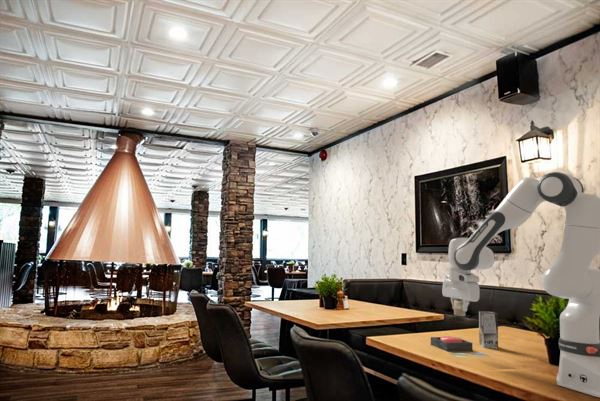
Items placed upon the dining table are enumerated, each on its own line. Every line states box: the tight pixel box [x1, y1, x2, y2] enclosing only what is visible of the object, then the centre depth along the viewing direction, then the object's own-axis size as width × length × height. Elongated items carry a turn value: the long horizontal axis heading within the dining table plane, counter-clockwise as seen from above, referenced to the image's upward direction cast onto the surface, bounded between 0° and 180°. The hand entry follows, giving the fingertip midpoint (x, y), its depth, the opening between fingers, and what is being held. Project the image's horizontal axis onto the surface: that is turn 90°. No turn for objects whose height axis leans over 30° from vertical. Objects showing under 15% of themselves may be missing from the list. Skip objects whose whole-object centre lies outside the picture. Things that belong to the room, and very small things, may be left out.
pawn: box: [453, 299, 466, 317], centre depth 172 cm, size 4×4×6 cm
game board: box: [430, 336, 490, 358], centre depth 177 cm, size 24×16×4 cm, turn 15°
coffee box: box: [478, 310, 499, 350], centre depth 191 cm, size 9×6×16 cm
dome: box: [439, 335, 463, 343], centre depth 183 cm, size 9×9×4 cm
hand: (459, 310), depth 172 cm, fingers closed on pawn, 4 cm apart
